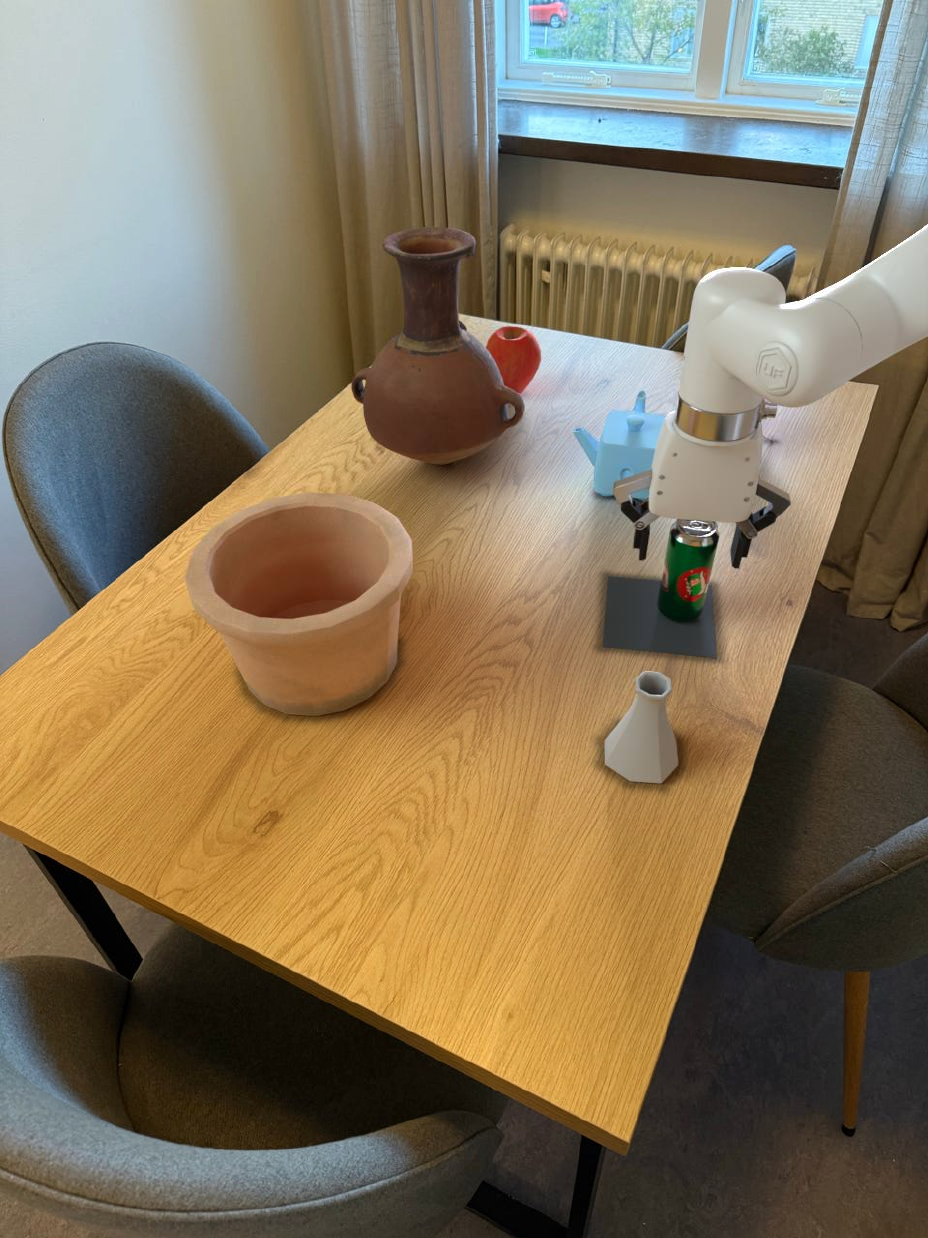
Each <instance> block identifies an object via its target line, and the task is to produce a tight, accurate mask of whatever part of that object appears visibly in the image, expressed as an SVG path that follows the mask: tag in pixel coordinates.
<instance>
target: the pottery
mask: <svg viewBox="0 0 928 1238" xmlns="http://www.w3.org/2000/svg"><path fill="white" fill-rule="evenodd" d="M412 541H413V540H412V538H411V537H410V535H409V533H408V532H407V530H406V529H405V527H404V526H403V524H402V522H401V521H400V519H399V517H397V516H396V515H394V514H392V513H391V512H390V511H388V510H386V509H385V508H384V507H382V506H381V505H379V504H377V503H376V502H373V501H370V500H367V499H363V498H359V497H356V496H353V495H349V494H346V493H332V492H331V493H329V492H302V493H296V494H290V495H289V494H288V495H284V496H277V497H272V498H270V499H267V500H265V501H261V502H258V503H256V504H253V505H250V506H246V507H244V508H242V509H239V510H238V511H236V512H234V513H233V514H232V515H230V516H228V517H227V518H225V519H224V520H222V521H221V522H219V523H217V524H216V525H214V526H213V527H211V528H210V529H209V530H208V531H207V533H206V534H205V535H204V537H203V538H201V540H200V541H199V542H198V543H197V544H196V545H195V547H194V548H193V549H192V550H191V554H190V557H189V561H188V564H187V568H186V571H185V574H184V580H185V584H186V587H187V591H188V594H189V598H190V602H191V605H192V607H193V610H194V612H195V613H196V614H197V615H198V616H199V617H200V618H202V620H204V621H205V623H207V624H208V625H209V626H210V627H211V628H212V629H213V630H214V631H215V632H216V633H218V634H219V636H220V637H221V639H222V641H223V643H224V645H225V646H226V649H227V651H228V652H229V654H230V656H231V658H232V660H233V662H234V664H235V665H236V667H237V669H238V671H239V673H240V675H241V677H242V678H243V680H244V682H245V684H246V686H247V689H248V691H249V692H250V693H251V694H252V695H254V697H255V698H256V699H257V700H258V701H260V702H261V703H262V705H264V706H266V707H269V708H271V709H274V710H275V711H278V712H281V713H284V714H286V715H293V716H295V715H296V716H308V717H317V716H323V715H327V714H328V715H329V714H332V713H338V712H344V711H346V710H348V709H350V708H352V707H354V706H356V705H358V704H360V703H363V702H364V701H367V700H368V699H370V698H371V697H372V696H374V695H375V693H377V692H378V691H379V690H380V689H381V688H382V687H383V686H385V684H386V683H388V681H389V679H390V677H391V675H392V673H393V671H394V670H395V667H396V665H397V663H398V644H399V643H398V641H399V628H400V615H401V613H400V612H401V601H402V600H401V599H402V595H403V593H404V591H405V589H406V586H407V585H408V583H409V582H410V580H411V577H412V576H413V574H414V571H413V570H414V568H413V567H414V566H413V565H414V564H413V561H414V560H413V542H412Z"/></svg>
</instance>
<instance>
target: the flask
mask: <svg viewBox="0 0 928 1238" xmlns="http://www.w3.org/2000/svg"><path fill="white" fill-rule="evenodd" d="M672 691H673V689H672V678H670V677H668V676H667V675H666V674H663V673H661V672H660V671H649V670H643V672H641V673H640V674H639V675H638V676H637V677H636V678H635V693H636V695H635V698H634V699H633V702H632V703H631V706H630V708H629V709H628V710H627V712H626V713H625V714H624V716H623V717H622V718H621V720H620V721H619V722H618V724H617V725H616V726H615V727H614V728H613V730H611V732H610V733H609V734H608V735H607V737H606V738H605V739H604V766H607V767H608V768H609V769H611V770H612V771H614V772H616V773H617V774H619V775H620V776H622V777H623V778H624V779H625V780H627V781H629V782H635V783H648V784H649V783H650V784H662V783H664V781H665V780H666V779H668V777H669V776H670V775H671V774H672V773H673V772H674V771H675V769H676V768H677V767H678V766H679V755H678V744H677V743H678V742H677V739H676V736H675V732H674V730H673V727H672V725H671V722H670V718H669V715H668V711H667V708H666V707H667V705H666V704H667V698H668V696H670V694H671V693H672Z"/></svg>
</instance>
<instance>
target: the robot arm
mask: <svg viewBox="0 0 928 1238" xmlns="http://www.w3.org/2000/svg"><path fill="white" fill-rule="evenodd" d="M786 295H787V293H786V289H785V287H784V285H783V283H782V282H781V281H780V280H779V279H778V277H776V276H774V275H772V274H770V273H768V272H766V271H762V270H759V269H754V268H749V267H729V268H727V267H726V268H721V269H717V270H713V271H712V272H709V273H708V274H706V275H705V276H703V277H702V278H701V279H700V280H699V282H698V283H697V284H696V287H695V289H694V291H693V296H692V301H691V305H690V306H691V307H690V313H689V318H688V319H689V320H688V325H687V332H686V338H685V345H684V349H683V350H684V351H683V357H682V362H681V370H680V375H679V382H678V387H677V395H676V401H675V407H674V411H671V412H668V413H667V414H666V416H665V420H664V422H663V425H662V428H661V431H660V434H659V437H658V440H657V444H656V448H655V452H654V457H653V462H652V467H651V469H650V470H647V471H644V472H641V473H638V474H636V475H633V476H630V477H627V478H624V479H621V480H618V481H616V482H614V484H613V494H614V495H613V496H614V498H615V500H616V502H617V504H618V505H619V507H620V511H621V513H622V514H623V515H625V517H627V518H628V520H629V521H630V522H631V523H633V527H634V534H633V535H634V536H633V543H632V544H633V545H632V549H636V550H638V561H639V562H640V561H641V562H644V561H645V560H646V559H647V554H648V546H649V541H650V534H651V524H652V523H654V522H655V521H656V520H658V519H659V518H666V519H675V520H676V519H688V520H700V521H714V522H716V523H732V524H733V523H735V530H734V532H733V537H732V542H731V546H730V551H729V552H730V563H731V568H733V569H740V566H741V562H742V559H747V558H748V556H749V552H750V549H751V545H752V541H753V539H755V538H757V536H758V534H759V532H762V531H763V530H765V529H767V528H768V527H770V526H772V525H773V524H775V523H776V521H777V519H778V518H779V517H780V516H781V515H782V514H784V512H786V510H787V509H789V507H790V506H791V504H792V501H791V496H790V494H789V492H787V491H786V490H785V491H784V489H781V488H779V487H778V486H776V485H774V484H772V483H770V482H768V481H766V480H765V479H763V478H761V477H759V475H760V470H761V460H762V450H763V436H762V435H763V422H762V421H763V420H767V419H775V418H776V416H777V413H778V406H779V407H785V408H791V409H792V408H803V407H805V406H806V407H807V406H809V405H811V404H814V403H815V402H817V401H819V400H821V399H822V398H824V397H826V396H827V395H828V394H829V395H830V394H831V393H832V392H834V391H836V390H838V389H839V388H841V387H842V386H843V385H845V384H846V383H848V382H850V381H851V380H852V379H854V378H856V377H857V376H859V375H861V374H863V373H864V372H866V371H867V370H869V369H872V368H873V367H875V366H876V365H878V364H880V363H881V362H883V361H885V360H887V359H889V358H890V357H892V356H894V355H896V354H897V353H899V352H901V351H903V350H905V349H906V348H908V347H910V346H912V345H914V344H916V343H918V342H919V341H921V340H924V339H925V338H927V337H928V224H927V225H925V226H924V227H923V228H921V229H920V230H918V231H917V232H915V233H914V234H913V235H911V236H910V237H908V238H907V239H904V241H903V242H901V243H899V244H898V245H896V246H895V247H893V248H891V249H890V250H888V251H886V253H884V254H882V255H881V256H879V257H878V258H876V259H875V260H873V261H871V262H870V263H868V264H867V265H865V266H864V267H862V268H861V269H859V270H857V271H856V272H854V273H852V274H851V275H848V276H847V277H846V278H844V279H842V280H840V281H839V282H837V283H835V284H832V285H830V286H828V287H826V288H824V289H822V290H820V291H818V292H816V293H814V294H812V295H811V296H809V297H806V298H805V299H803V300H799V301H792V302H788V303H786V300H787V299H786V298H787V297H786ZM764 398H765V399H767V400H769V401H770V402H772V403H769V401H765V399H764ZM645 488H648V492H649V497H648V498H647V499H645V500H644V501H641V502H640V503H638V501H636V500H635V498H632V497H631V496H630V494H631V493H633V492H636V491H639V490H642V489H645ZM756 496H757V497H758V498H761V499H762V500H764V501H766V502H768V505H765V506H763V507H762V508H760V509H758V510H757V511H755V512H753V508H754V505H755V499H756Z"/></svg>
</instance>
